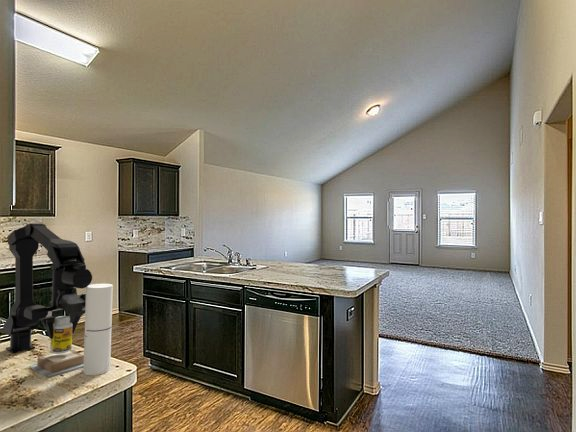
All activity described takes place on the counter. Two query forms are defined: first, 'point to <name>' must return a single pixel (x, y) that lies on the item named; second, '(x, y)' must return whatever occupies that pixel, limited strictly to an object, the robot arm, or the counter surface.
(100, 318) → the cylindrical container
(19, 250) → the robot arm
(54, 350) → the supplement bottle
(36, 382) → the counter surface
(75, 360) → the tiered square riser
